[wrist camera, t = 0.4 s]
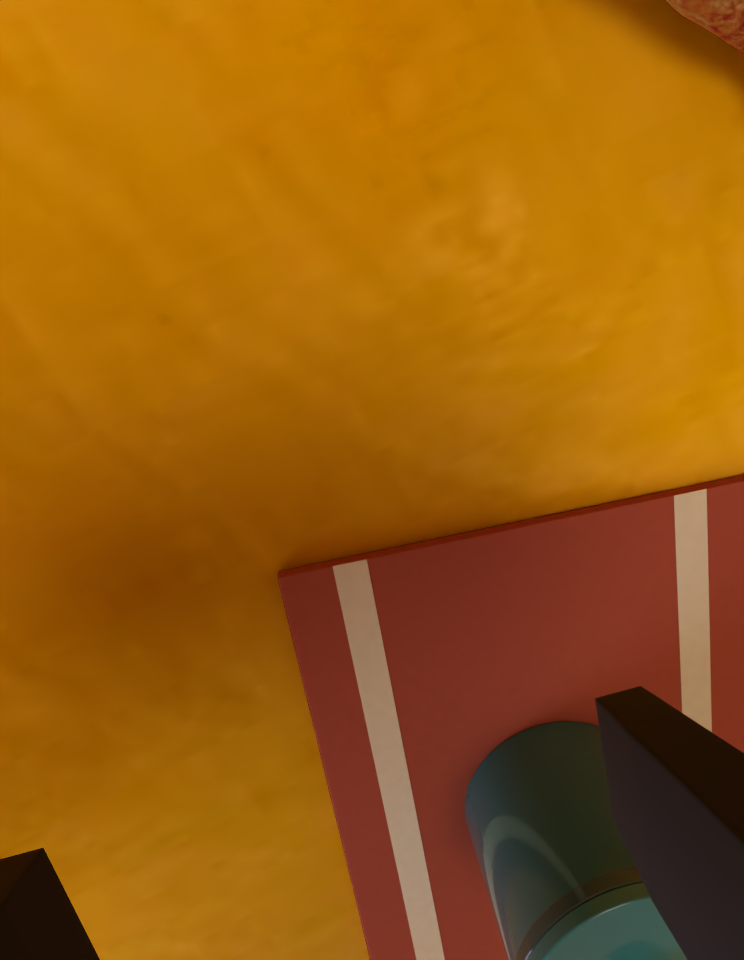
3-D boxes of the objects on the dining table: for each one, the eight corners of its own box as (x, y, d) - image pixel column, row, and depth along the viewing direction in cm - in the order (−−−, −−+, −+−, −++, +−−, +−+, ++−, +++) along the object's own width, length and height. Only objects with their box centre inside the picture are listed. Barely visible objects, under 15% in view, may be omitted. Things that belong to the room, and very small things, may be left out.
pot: (647, 847, 23) (786, 1082, 16) (473, 888, 22) (545, 1142, 16) (638, 698, 21) (792, 897, 14) (448, 741, 20) (519, 961, 14)
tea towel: (749, 948, 25) (756, 959, 25) (389, 1035, 24) (391, 1047, 24) (749, 473, 19) (758, 478, 19) (277, 570, 19) (277, 577, 18)
